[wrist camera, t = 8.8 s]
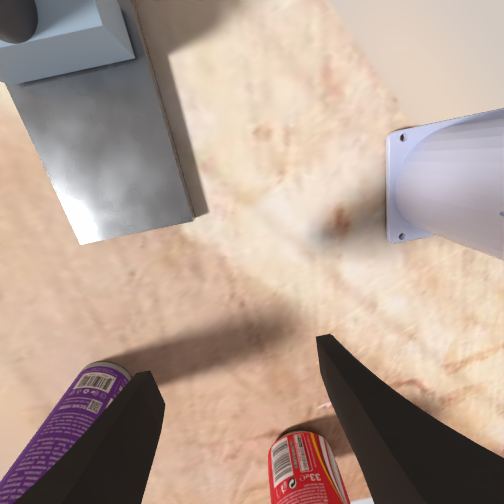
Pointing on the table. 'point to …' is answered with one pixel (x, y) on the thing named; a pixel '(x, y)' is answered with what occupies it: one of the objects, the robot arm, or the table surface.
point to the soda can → (304, 471)
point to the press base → (107, 144)
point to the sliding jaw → (59, 37)
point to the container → (64, 426)
